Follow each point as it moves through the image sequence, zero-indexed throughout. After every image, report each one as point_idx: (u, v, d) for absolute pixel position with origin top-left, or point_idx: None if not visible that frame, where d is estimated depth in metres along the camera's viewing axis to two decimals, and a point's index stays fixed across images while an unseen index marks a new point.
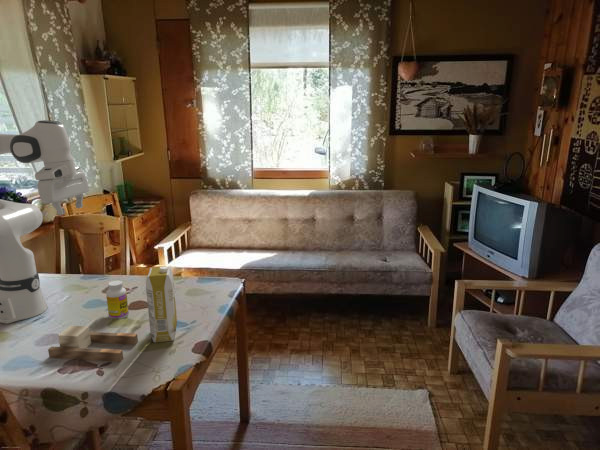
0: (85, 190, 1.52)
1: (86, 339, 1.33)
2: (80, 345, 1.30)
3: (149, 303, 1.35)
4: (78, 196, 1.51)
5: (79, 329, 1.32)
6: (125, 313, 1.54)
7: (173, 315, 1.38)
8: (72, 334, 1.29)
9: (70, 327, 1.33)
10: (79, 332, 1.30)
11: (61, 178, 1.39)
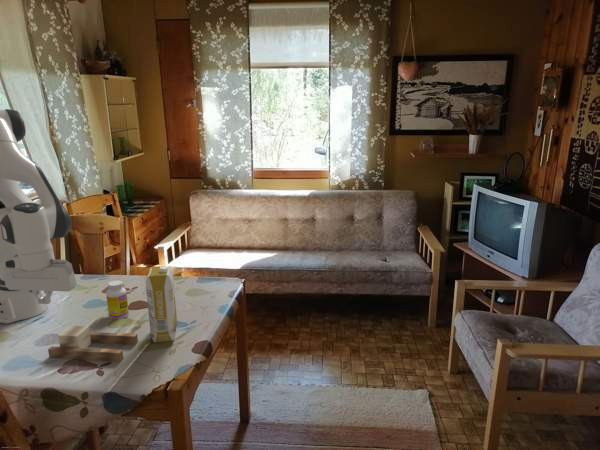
0: (61, 289, 1.26)
1: (86, 339, 1.33)
2: (80, 345, 1.30)
3: (149, 303, 1.35)
4: None
5: (79, 329, 1.32)
6: (125, 313, 1.54)
7: (173, 315, 1.38)
8: (72, 334, 1.29)
9: (70, 327, 1.33)
10: (79, 332, 1.30)
11: (17, 269, 1.24)
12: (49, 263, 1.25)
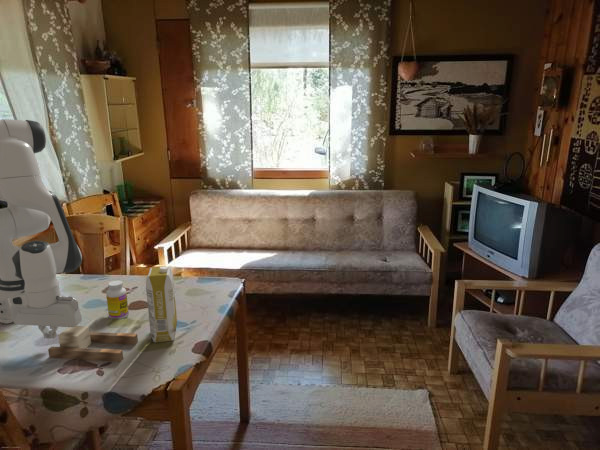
0: (67, 325, 1.29)
1: (86, 339, 1.33)
2: (80, 345, 1.30)
3: (149, 303, 1.35)
4: None
5: (79, 329, 1.32)
6: (125, 313, 1.54)
7: (173, 315, 1.38)
8: (72, 334, 1.29)
9: (70, 327, 1.33)
10: (79, 332, 1.30)
11: (24, 306, 1.27)
12: (55, 300, 1.28)
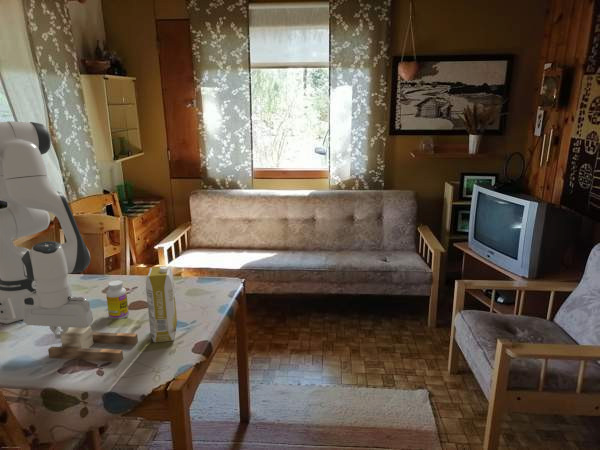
0: (78, 325, 1.28)
1: (88, 339, 1.33)
2: (82, 345, 1.30)
3: (149, 303, 1.35)
4: None
5: (81, 330, 1.32)
6: (125, 313, 1.54)
7: (173, 315, 1.38)
8: (74, 334, 1.29)
9: (72, 327, 1.33)
10: (81, 333, 1.30)
11: (35, 306, 1.27)
12: (67, 300, 1.28)
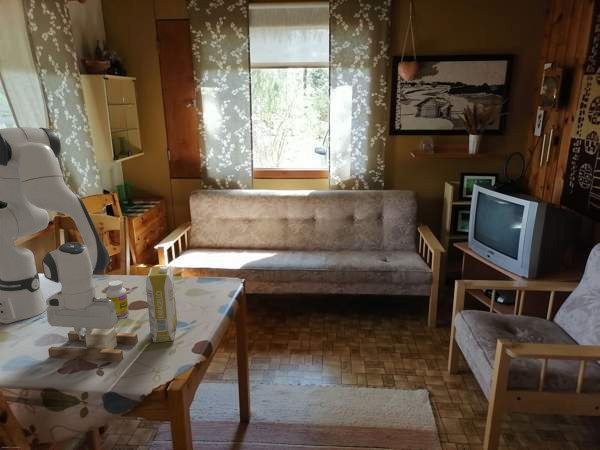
0: (103, 327, 1.28)
1: (112, 340, 1.32)
2: (107, 346, 1.29)
3: (149, 303, 1.35)
4: None
5: (105, 331, 1.31)
6: (125, 313, 1.54)
7: (173, 315, 1.38)
8: (99, 335, 1.28)
9: None
10: (106, 334, 1.29)
11: (60, 307, 1.26)
12: (92, 302, 1.27)
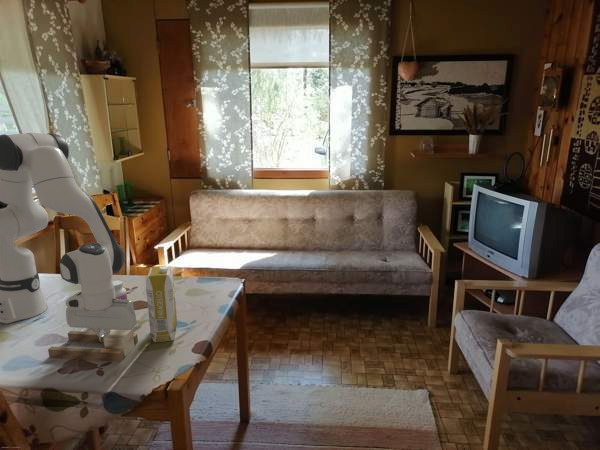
0: (123, 328, 1.27)
1: (130, 341, 1.32)
2: (125, 347, 1.28)
3: (149, 303, 1.35)
4: None
5: (123, 332, 1.31)
6: None
7: (173, 315, 1.38)
8: (117, 336, 1.28)
9: None
10: (124, 335, 1.29)
11: (80, 308, 1.26)
12: (111, 303, 1.26)
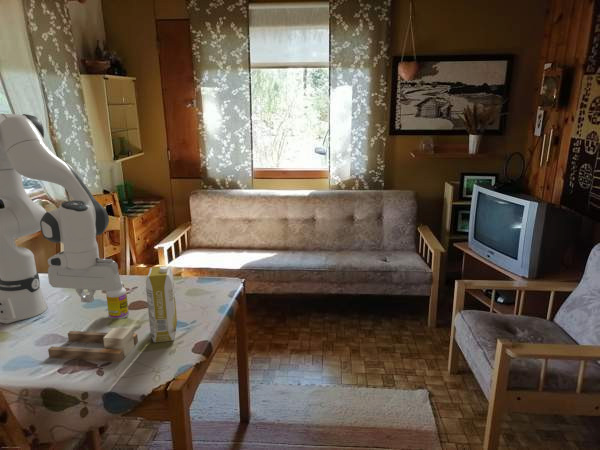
0: (106, 288, 1.24)
1: (130, 341, 1.32)
2: (125, 347, 1.28)
3: (149, 303, 1.35)
4: None
5: (123, 332, 1.31)
6: (125, 313, 1.54)
7: (173, 315, 1.38)
8: (117, 336, 1.28)
9: (114, 329, 1.32)
10: (124, 335, 1.29)
11: (62, 267, 1.23)
12: (95, 262, 1.24)
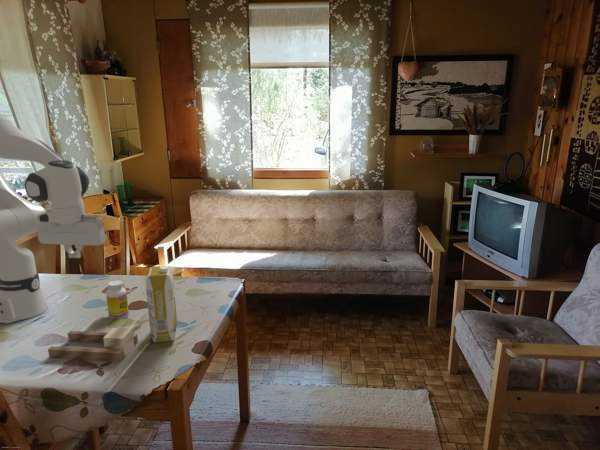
0: (92, 243, 1.32)
1: (130, 341, 1.32)
2: (125, 347, 1.28)
3: (149, 303, 1.35)
4: None
5: (123, 332, 1.31)
6: (125, 313, 1.54)
7: (173, 315, 1.38)
8: (117, 336, 1.28)
9: (114, 329, 1.32)
10: (124, 335, 1.29)
11: (50, 223, 1.31)
12: (81, 218, 1.31)
